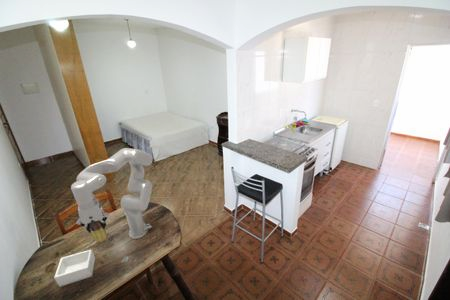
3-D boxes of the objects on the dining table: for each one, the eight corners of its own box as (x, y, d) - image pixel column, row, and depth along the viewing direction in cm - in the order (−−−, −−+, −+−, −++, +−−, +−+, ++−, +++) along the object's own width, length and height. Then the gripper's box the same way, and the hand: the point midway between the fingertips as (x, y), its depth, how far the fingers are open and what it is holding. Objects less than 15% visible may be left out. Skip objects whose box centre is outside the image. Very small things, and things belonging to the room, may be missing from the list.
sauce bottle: (98, 235, 124) (87, 209, 115) (109, 234, 124) (100, 208, 115) (93, 245, 118) (81, 218, 109) (105, 244, 118) (94, 217, 109)
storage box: (95, 258, 136) (91, 249, 132) (91, 276, 125) (87, 267, 121) (65, 266, 131) (60, 257, 127) (59, 287, 120) (54, 277, 116)
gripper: (106, 194, 115) (115, 219, 123) (69, 203, 110) (80, 228, 118) (105, 203, 109) (114, 229, 117) (65, 212, 103) (77, 239, 112)
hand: (97, 228), depth 117 cm, fingers closed on sauce bottle, 6 cm apart
